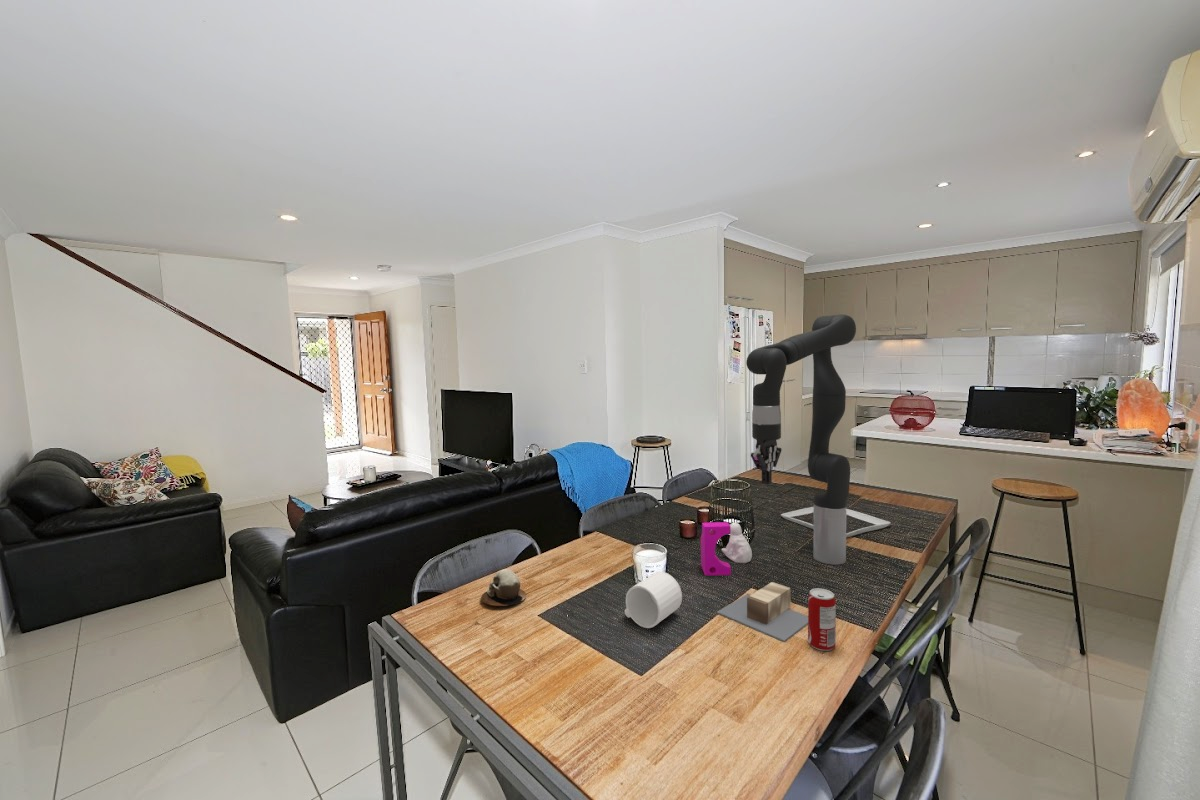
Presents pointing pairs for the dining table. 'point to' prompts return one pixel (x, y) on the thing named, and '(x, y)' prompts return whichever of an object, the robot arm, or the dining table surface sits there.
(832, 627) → the soda can
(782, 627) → the mat
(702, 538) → the toy block
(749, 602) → the birch block
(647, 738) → the dining table surface
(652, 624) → the mug
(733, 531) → the pale pink lumpy piece
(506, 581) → the skull
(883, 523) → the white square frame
